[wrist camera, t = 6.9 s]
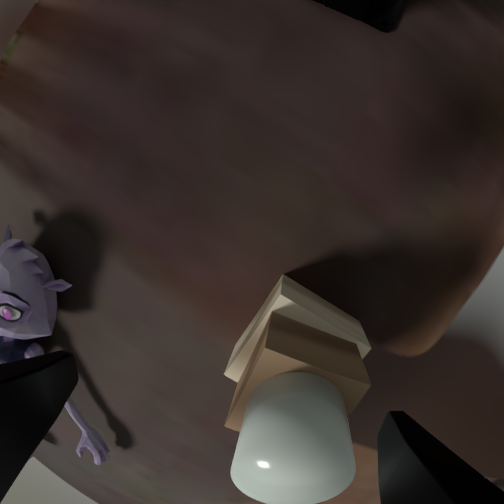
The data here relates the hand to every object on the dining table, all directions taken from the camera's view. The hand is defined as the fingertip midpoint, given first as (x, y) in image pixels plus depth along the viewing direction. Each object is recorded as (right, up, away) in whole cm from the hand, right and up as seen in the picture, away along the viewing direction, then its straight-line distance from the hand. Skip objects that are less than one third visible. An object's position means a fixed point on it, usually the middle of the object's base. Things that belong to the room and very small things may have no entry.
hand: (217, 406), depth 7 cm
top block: (+3, -2, +9) cm, 10 cm away
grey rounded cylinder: (+3, -3, +5) cm, 7 cm away
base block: (+4, -1, +13) cm, 14 cm away
